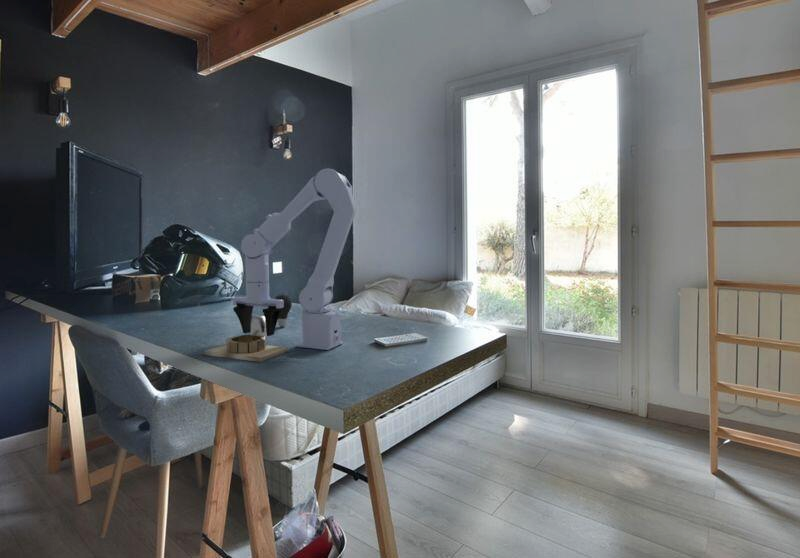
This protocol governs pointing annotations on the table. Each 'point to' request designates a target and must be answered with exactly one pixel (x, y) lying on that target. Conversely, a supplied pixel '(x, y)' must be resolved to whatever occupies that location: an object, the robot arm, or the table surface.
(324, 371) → the table surface
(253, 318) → the bayonet cap
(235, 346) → the socket base
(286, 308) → the light bulb
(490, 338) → the table surface
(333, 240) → the robot arm
